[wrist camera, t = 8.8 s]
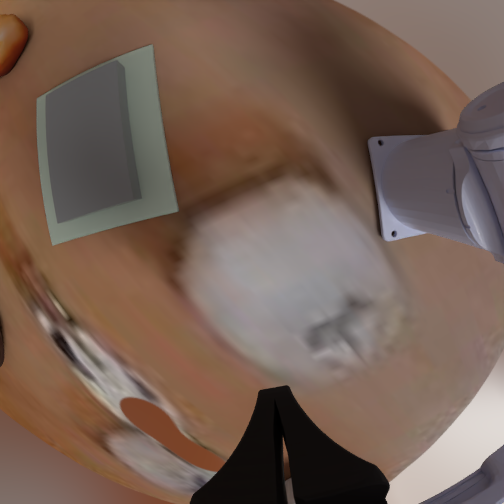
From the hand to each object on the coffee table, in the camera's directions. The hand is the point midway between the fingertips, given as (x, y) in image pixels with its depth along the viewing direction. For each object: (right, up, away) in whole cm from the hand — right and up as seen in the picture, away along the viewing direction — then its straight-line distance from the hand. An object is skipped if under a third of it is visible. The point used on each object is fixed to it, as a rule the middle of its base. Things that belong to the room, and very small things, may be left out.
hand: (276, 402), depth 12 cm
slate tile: (-10, +16, +5) cm, 19 cm away
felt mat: (-14, +15, +7) cm, 22 cm away
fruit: (-28, +29, +4) cm, 40 cm away
